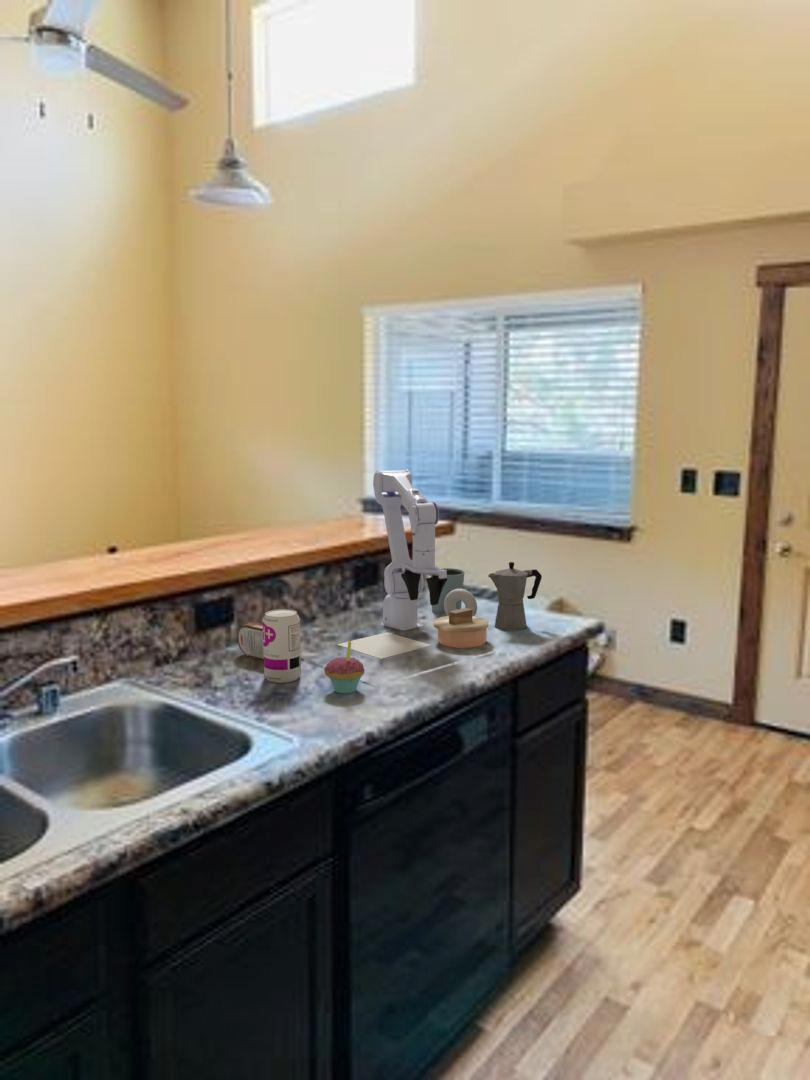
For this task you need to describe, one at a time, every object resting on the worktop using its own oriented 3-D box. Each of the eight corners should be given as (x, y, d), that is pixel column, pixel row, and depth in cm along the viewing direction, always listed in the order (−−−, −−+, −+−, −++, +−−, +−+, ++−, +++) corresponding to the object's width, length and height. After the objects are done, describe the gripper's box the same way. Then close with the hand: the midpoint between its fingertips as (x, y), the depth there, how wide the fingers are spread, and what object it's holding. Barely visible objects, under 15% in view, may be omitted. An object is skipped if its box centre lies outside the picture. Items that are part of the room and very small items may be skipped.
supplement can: (271, 686, 187) (269, 619, 185) (259, 675, 194) (257, 611, 192) (306, 680, 191) (304, 614, 188) (293, 670, 198) (291, 607, 196)
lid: (422, 624, 220) (422, 610, 219) (461, 615, 229) (461, 601, 228) (460, 635, 209) (460, 620, 209) (499, 625, 218) (499, 611, 218)
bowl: (429, 643, 220) (429, 624, 220) (460, 634, 229) (460, 616, 228) (464, 653, 212) (464, 633, 211) (495, 643, 220) (495, 624, 220)
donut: (479, 624, 239) (479, 589, 237) (474, 627, 236) (474, 591, 234) (447, 620, 244) (447, 585, 242) (441, 622, 241) (441, 588, 239)
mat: (336, 646, 217) (336, 644, 217) (387, 634, 229) (387, 632, 229) (381, 661, 205) (381, 658, 205) (431, 647, 216) (431, 645, 216)
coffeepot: (493, 632, 231) (494, 566, 228) (482, 623, 240) (483, 560, 237) (547, 628, 234) (548, 563, 232) (534, 620, 243) (535, 557, 241)
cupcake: (372, 689, 185) (372, 635, 183) (343, 699, 178) (343, 643, 177) (345, 681, 190) (344, 628, 188) (316, 690, 184) (315, 636, 182)
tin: (289, 662, 204) (288, 628, 203) (279, 665, 202) (278, 631, 201) (245, 652, 213) (243, 619, 212) (235, 655, 211) (234, 621, 209)
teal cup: (431, 606, 260) (431, 567, 258) (464, 607, 259) (465, 568, 257) (429, 614, 250) (429, 574, 248) (463, 615, 249) (464, 574, 247)
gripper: (393, 548, 221) (393, 600, 223) (432, 555, 210) (432, 609, 212) (413, 545, 226) (413, 595, 228) (452, 551, 215) (452, 604, 217)
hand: (423, 602), depth 220 cm, fingers open, 7 cm apart
